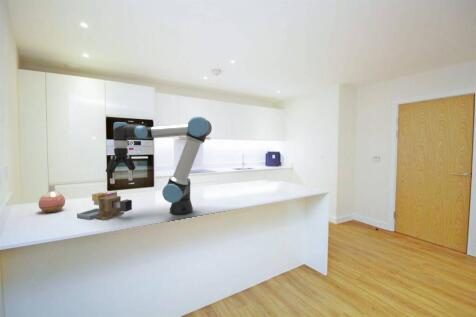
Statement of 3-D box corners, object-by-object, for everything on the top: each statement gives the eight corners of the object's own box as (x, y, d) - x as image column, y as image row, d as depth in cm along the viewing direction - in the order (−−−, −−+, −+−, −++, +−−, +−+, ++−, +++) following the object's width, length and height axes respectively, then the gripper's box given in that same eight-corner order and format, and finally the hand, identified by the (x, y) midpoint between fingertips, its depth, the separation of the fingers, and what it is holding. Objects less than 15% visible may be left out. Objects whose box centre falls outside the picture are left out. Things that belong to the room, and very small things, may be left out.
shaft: (131, 209, 139) (131, 199, 139) (125, 211, 134) (125, 201, 134) (99, 205, 147) (99, 196, 147) (92, 207, 142) (92, 198, 142)
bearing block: (123, 213, 147) (123, 195, 146) (104, 220, 133) (104, 200, 133) (115, 212, 149) (115, 194, 149) (95, 219, 136) (95, 199, 135)
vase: (55, 214, 143) (54, 186, 142) (32, 214, 142) (31, 186, 141) (70, 208, 157) (69, 183, 156) (49, 208, 156) (48, 183, 155)
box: (106, 212, 150) (105, 194, 149) (98, 211, 151) (98, 193, 150) (117, 207, 160) (117, 191, 159) (110, 207, 161) (110, 190, 161)
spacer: (106, 199, 146) (106, 193, 145) (98, 201, 140) (98, 195, 140) (100, 198, 147) (100, 192, 147) (92, 200, 141) (92, 194, 141)
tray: (109, 213, 146) (109, 210, 146) (90, 220, 134) (90, 215, 134) (96, 212, 149) (96, 208, 149) (77, 217, 137) (77, 213, 137)
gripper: (131, 147, 152) (132, 178, 153) (97, 147, 129) (99, 184, 130) (140, 147, 150) (141, 179, 151) (107, 147, 126) (108, 185, 127)
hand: (121, 181), depth 140 cm, fingers open, 13 cm apart
